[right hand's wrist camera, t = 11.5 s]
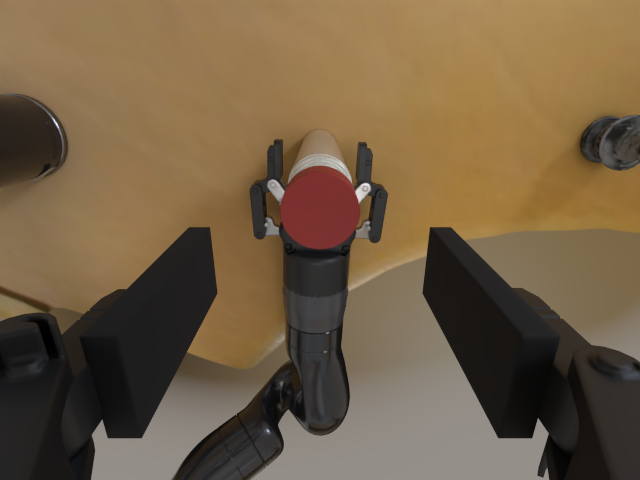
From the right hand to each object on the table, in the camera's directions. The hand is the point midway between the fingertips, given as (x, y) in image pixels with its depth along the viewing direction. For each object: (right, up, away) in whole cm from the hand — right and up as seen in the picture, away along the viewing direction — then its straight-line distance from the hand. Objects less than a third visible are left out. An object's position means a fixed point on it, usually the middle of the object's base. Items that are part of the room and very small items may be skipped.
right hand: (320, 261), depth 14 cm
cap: (0, +2, +6) cm, 7 cm away
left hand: (0, +11, +24) cm, 26 cm away
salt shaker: (+33, +13, +30) cm, 46 cm away
